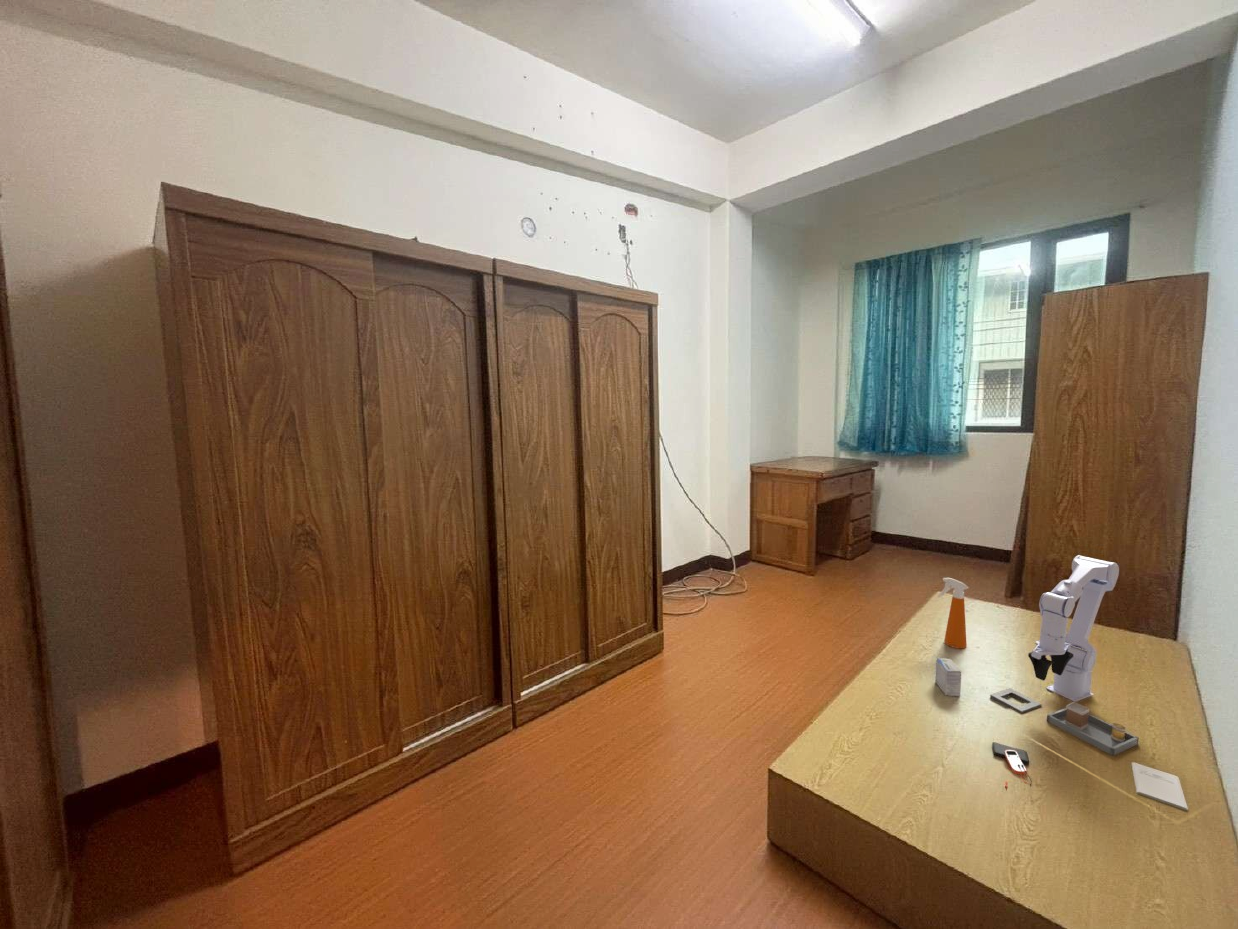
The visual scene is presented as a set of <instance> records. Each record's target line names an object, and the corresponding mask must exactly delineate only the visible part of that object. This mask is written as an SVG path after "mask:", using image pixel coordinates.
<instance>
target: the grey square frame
mask: <svg viewBox="0 0 1238 929" xmlns="http://www.w3.org/2000/svg"><path fill="white" fill-rule="evenodd" d="M1010 697H1013V698H1015V699H1017V700H1019V701H1021V702H1023V703H1025V704H1023V705H1017V704H1015V703H1014V702H1012V701H1009V700H1008V699H1006V698H1010ZM989 698H990V699H991V700H993V701H995V702H997V704H998V703H999V704H1000V705H1003V706H1004V707H1006V708H1008V709H1012V710H1014V711H1016V712H1018V713H1019V714H1025V713H1027V712H1030V711H1032V710H1035V709H1038V708H1041V707H1042V705H1043V704H1042V703H1040V702H1039V701H1036V700H1035V699H1032V698H1031V697H1029V696H1026V695H1024V694H1022V693H1020V692H1019V691H1017V690H1015V689H1013V688H1011V687H1008V688H1006V689H1002V690H1000V691H998V692H994V693H991V694H990V696H989Z"/></svg>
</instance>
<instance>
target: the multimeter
mask: <svg viewBox="0 0 1238 929" xmlns="http://www.w3.org/2000/svg"><path fill="white" fill-rule="evenodd" d="M991 746H992V747H991V748H992V752H993V757H996V758H1001V759H1004V760H1006V761H1007V763H1008V766H1009V767H1010V769H1011V771H1012V772H1013V773H1014V774H1017V775H1020V778H1021V780H1022V781H1023V782H1024V783H1026V784H1028V785H1030V786H1029V787H1030V788H1031V787H1032V782H1033V781H1032V779H1031V777H1030V776H1029V774H1028V770H1027V768H1026V766H1030V760H1029V756H1028V755H1029V754H1028V752H1027V751H1026V750H1024V749H1021V748H1018V747H1017V748H1016V747H1014V746H1013V747H1012V746H1009V745H1005V744H1001V743H999V742H994V741H993V742H992V744H991ZM1022 775H1027V776H1028V778H1029V779H1030V783H1029V782H1026V780H1024V779H1023V778H1022V777H1023V776H1022ZM1004 787H1005V789H1006V790H1007V789H1009V787H1008V782H1007V781H1005V786H1004Z"/></svg>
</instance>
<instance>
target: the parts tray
mask: <svg viewBox="0 0 1238 929" xmlns="http://www.w3.org/2000/svg"><path fill="white" fill-rule="evenodd" d="M1066 711H1067V708H1066V707H1064V708H1062V709H1059V710H1056V711H1054V712H1052V713H1049V714H1047V716H1046V722H1047V723H1050V724H1052V725H1053V726H1055V727H1057V728H1059V729H1061V730H1063V731H1064V732H1066V733H1068V734H1070V735H1072V736H1074V737H1076V738H1078V739H1079V740H1081V741H1084V742H1085V743H1088V744H1089V745H1091V746H1093V747H1095V748H1097V749H1099V750H1101V751H1102V752H1104V753H1107V754H1108V755H1111V756H1112V757H1113V756H1116V755H1118V754H1121V753H1122V752H1124V751H1127V750H1129V749H1132V748H1133V747H1136V746H1138V745H1139V737H1138V736H1136V735H1134V734H1132V733H1129V732H1128V731H1125V736H1124V739H1125V740H1124V742H1122V743H1119V742H1116V741H1114V740H1113V739H1111V734H1112V724H1111V723H1109V722H1107V721H1105V720H1102V719H1101V718H1098V717H1097V716H1095V715H1092V714H1090V713H1088V722H1087V724H1088V727H1086V728H1085V729H1083V730H1081V731H1080V730H1078V729H1076V728H1074V727H1072V726H1070V725H1068V724H1066V723H1065V720H1066Z"/></svg>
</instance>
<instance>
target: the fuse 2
mask: <svg viewBox="0 0 1238 929" xmlns="http://www.w3.org/2000/svg"><path fill="white" fill-rule="evenodd" d="M1111 725H1112V734H1111V739H1113V740H1114V741H1116V742H1119V743H1122V742H1124V740H1125V739H1124V736H1125V731H1126V730H1127V728H1126V726H1124V725H1123V724H1121V723H1117V722H1113V723H1112V724H1111ZM1126 732H1127V731H1126Z"/></svg>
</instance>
